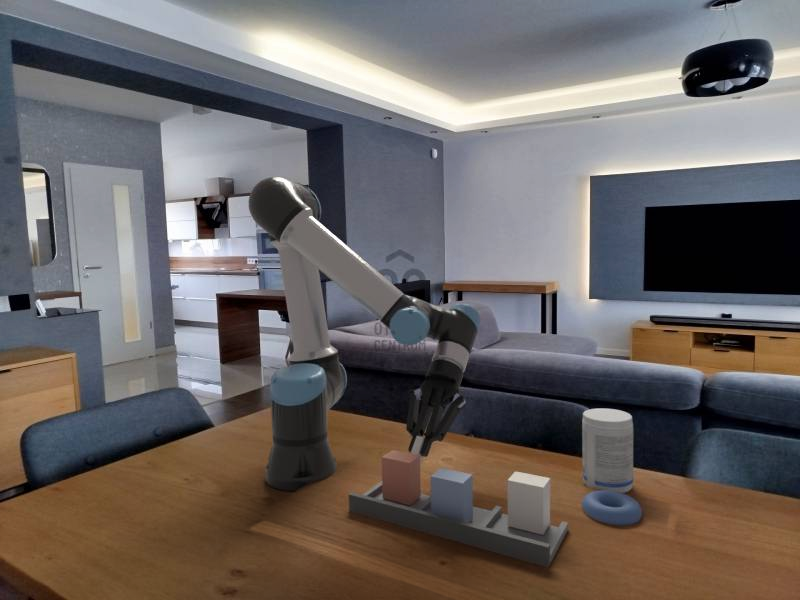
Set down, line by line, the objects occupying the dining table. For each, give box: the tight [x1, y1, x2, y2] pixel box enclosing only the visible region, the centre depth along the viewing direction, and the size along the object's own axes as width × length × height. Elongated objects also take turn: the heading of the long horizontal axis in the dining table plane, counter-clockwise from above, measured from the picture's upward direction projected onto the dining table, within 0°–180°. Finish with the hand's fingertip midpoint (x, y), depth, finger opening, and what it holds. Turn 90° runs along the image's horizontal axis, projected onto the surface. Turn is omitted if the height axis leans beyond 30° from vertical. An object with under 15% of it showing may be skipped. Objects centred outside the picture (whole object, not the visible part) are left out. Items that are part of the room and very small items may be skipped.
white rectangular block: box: [507, 470, 551, 535], centre depth 90 cm, size 6×4×8 cm, turn 59°
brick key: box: [381, 449, 422, 505], centre depth 101 cm, size 6×4×8 cm, turn 59°
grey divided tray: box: [348, 480, 569, 568], centre depth 93 cm, size 36×12×4 cm, turn 59°
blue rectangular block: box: [430, 467, 474, 523], centre depth 92 cm, size 6×4×8 cm, turn 59°
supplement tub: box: [581, 407, 634, 494], centre depth 108 cm, size 10×10×15 cm
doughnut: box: [581, 489, 643, 526], centre depth 95 cm, size 10×10×5 cm
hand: (411, 470), depth 103 cm, fingers closed
